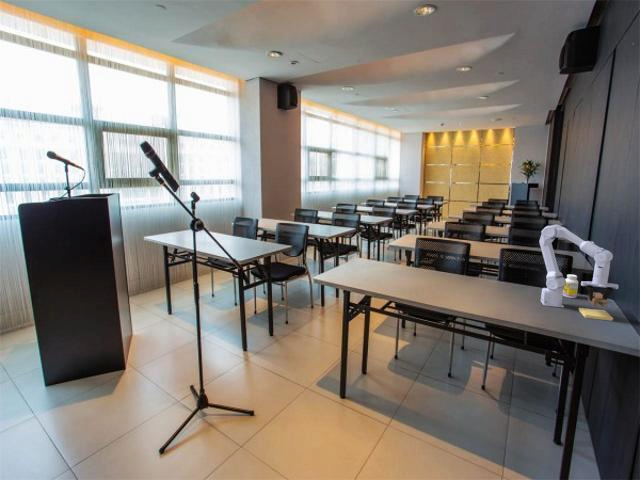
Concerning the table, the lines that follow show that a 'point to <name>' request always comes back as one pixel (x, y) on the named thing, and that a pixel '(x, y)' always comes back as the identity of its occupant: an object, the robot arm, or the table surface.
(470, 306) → the table surface
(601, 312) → the plate
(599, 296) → the salmon pink square block
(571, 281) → the supplement bottle
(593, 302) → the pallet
